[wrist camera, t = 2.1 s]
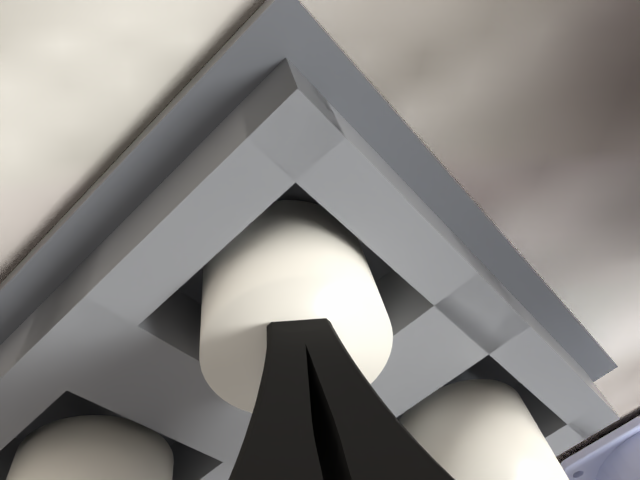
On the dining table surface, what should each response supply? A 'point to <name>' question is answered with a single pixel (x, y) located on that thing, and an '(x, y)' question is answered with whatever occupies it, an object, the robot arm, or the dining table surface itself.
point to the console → (234, 216)
